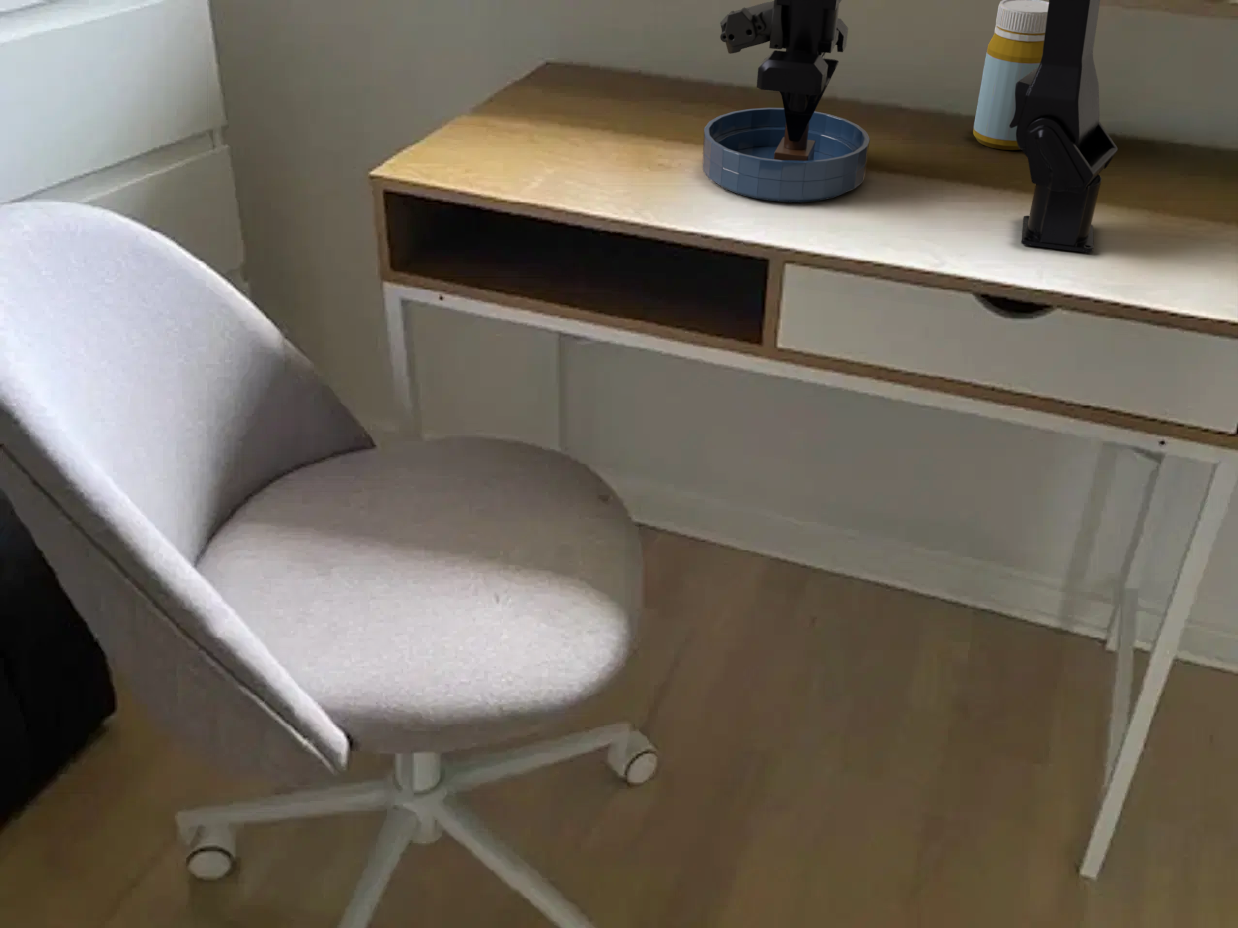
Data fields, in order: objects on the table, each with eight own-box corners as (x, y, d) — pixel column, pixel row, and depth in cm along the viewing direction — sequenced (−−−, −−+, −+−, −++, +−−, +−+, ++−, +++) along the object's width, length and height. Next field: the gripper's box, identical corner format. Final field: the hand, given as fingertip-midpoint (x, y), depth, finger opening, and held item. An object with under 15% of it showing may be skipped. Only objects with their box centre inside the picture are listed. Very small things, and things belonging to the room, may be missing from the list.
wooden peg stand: (805, 179, 134) (815, 88, 129) (772, 175, 135) (780, 84, 130) (813, 163, 138) (822, 74, 133) (780, 159, 139) (789, 70, 134)
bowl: (852, 214, 128) (857, 170, 126) (685, 193, 132) (687, 151, 130) (873, 158, 142) (878, 117, 140) (721, 140, 146) (723, 101, 144)
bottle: (1029, 132, 150) (1055, -1, 142) (1039, 153, 144) (1067, 15, 136) (968, 129, 151) (991, -4, 143) (976, 150, 145) (1000, 12, 137)
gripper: (749, -46, 135) (738, 102, 144) (709, -5, 120) (700, 157, 129) (856, -37, 133) (839, 113, 142) (829, 6, 118) (811, 170, 126)
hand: (796, 136), depth 135 cm, fingers closed on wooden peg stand, 2 cm apart
